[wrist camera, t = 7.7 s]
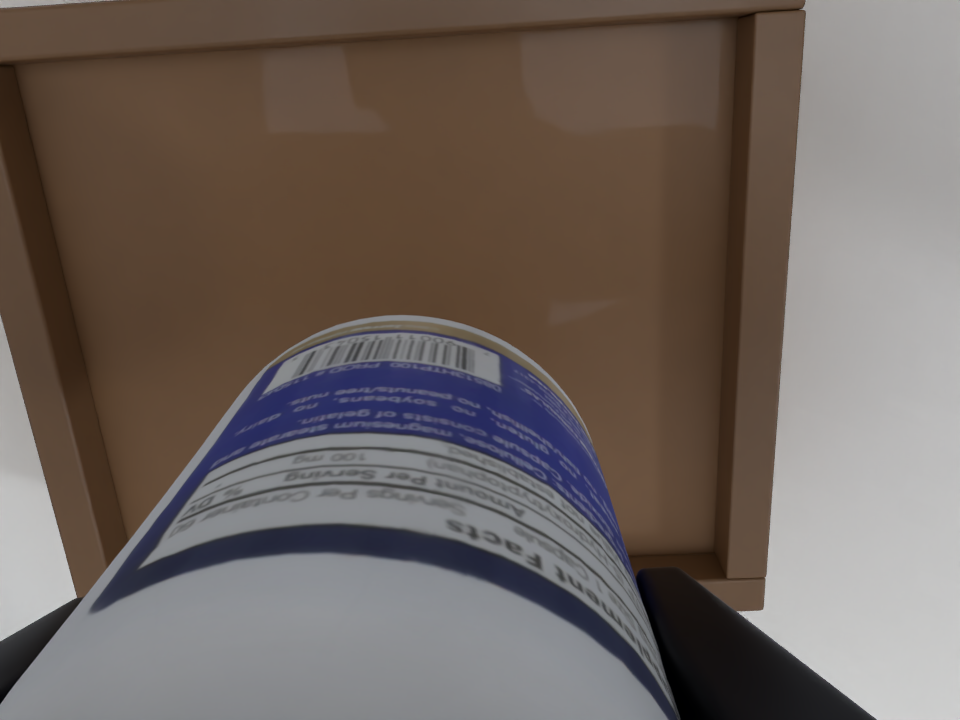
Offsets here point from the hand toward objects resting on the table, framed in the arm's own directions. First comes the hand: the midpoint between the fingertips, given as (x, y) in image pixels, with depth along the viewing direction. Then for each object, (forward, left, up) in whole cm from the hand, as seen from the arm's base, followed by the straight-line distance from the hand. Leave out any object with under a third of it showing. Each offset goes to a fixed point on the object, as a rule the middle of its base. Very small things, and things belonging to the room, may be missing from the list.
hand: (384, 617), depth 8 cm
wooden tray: (+1, -1, -11) cm, 11 cm away
